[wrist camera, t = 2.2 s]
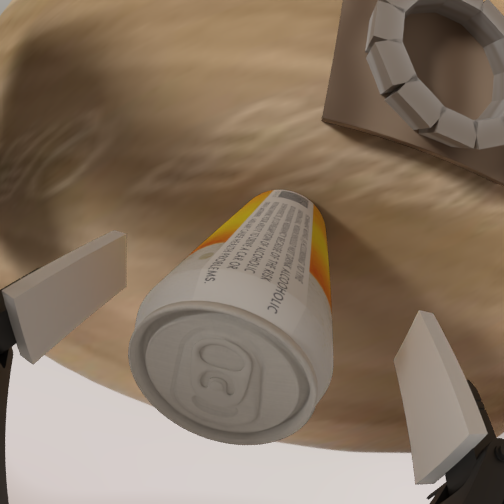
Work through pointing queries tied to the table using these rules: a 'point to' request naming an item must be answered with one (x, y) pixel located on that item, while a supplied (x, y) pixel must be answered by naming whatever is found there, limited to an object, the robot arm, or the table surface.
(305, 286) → the beer can
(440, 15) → the cup holder
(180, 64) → the table surface
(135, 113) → the table surface
